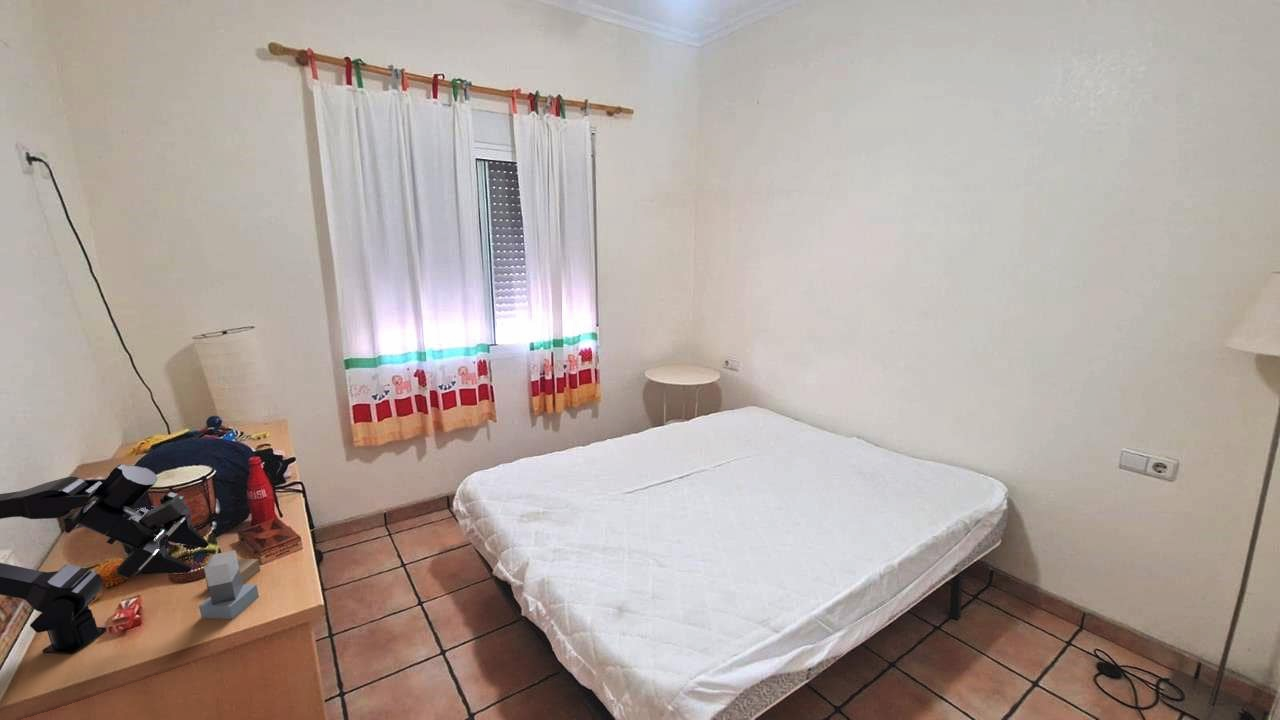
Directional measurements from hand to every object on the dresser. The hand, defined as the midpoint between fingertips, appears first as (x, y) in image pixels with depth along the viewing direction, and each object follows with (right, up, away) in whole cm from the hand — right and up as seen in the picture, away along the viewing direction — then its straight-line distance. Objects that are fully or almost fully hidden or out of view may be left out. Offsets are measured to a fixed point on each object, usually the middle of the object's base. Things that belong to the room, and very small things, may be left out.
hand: (199, 557), depth 106 cm
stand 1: (-3, -10, +13) cm, 17 cm away
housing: (+3, -10, +4) cm, 11 cm away
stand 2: (+3, -13, +4) cm, 14 cm away
